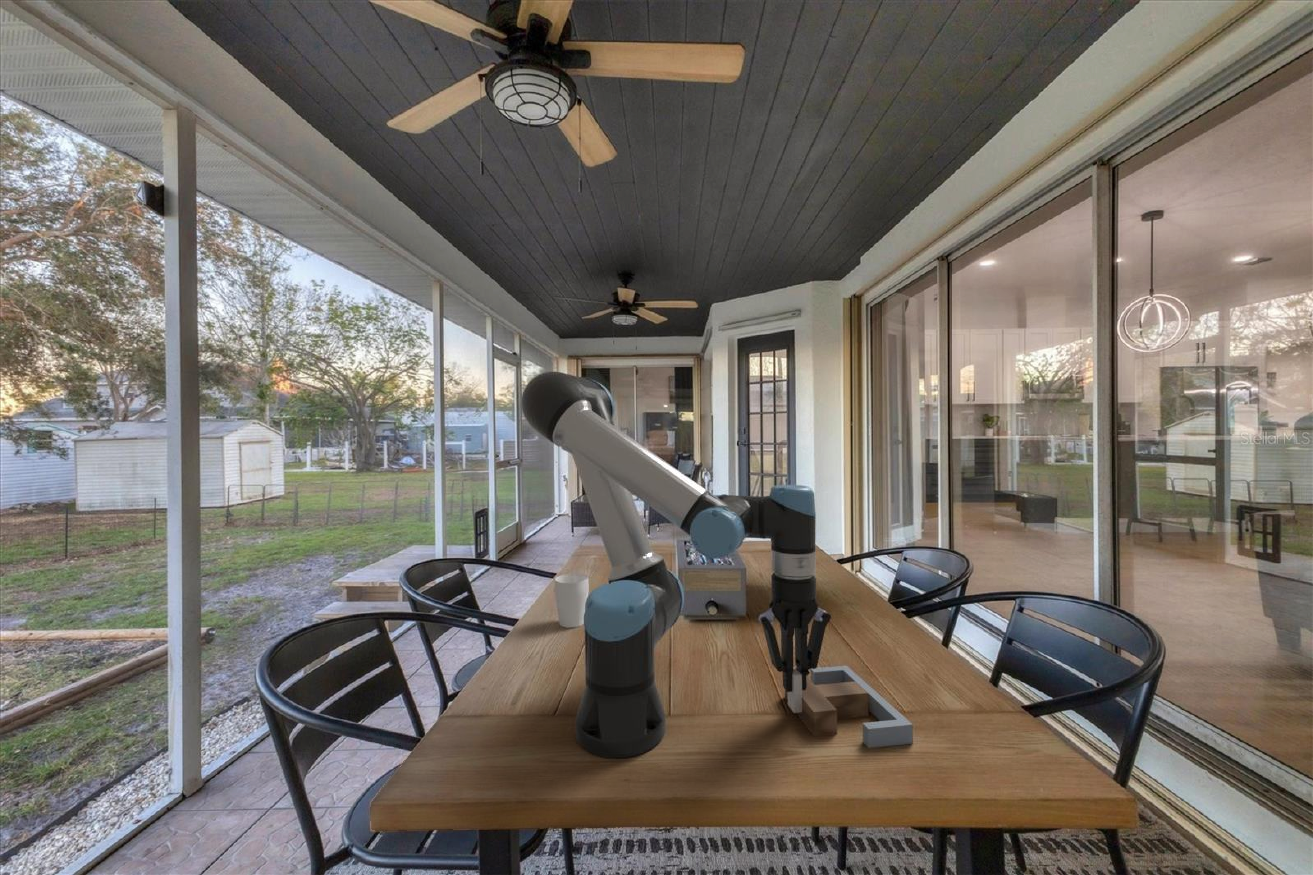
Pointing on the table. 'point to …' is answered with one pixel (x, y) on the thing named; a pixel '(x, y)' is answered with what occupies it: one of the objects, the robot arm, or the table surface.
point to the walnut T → (831, 705)
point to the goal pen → (890, 723)
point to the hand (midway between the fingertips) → (794, 708)
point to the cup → (571, 599)
